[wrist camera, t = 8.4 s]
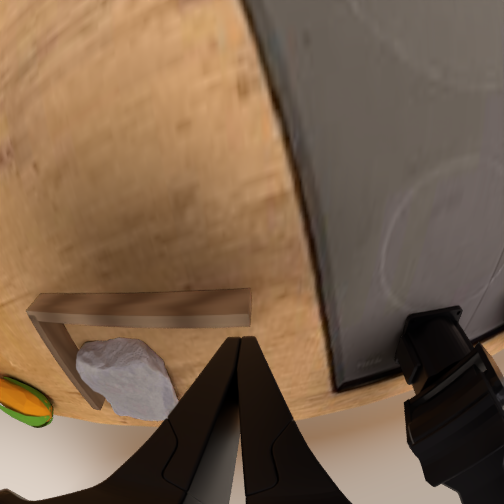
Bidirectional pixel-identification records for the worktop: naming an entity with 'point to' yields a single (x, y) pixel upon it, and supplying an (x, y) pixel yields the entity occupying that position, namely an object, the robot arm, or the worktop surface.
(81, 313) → the corner walls
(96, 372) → the stone block
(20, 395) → the corn
